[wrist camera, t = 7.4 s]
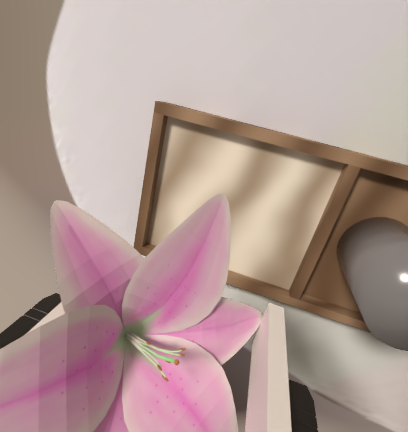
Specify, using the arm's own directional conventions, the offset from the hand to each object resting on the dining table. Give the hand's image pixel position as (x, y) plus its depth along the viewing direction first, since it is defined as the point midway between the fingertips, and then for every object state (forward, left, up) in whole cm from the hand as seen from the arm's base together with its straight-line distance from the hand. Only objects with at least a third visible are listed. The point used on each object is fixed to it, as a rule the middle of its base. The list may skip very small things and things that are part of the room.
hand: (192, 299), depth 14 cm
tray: (-6, 0, -17) cm, 17 cm away
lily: (+1, -1, 0) cm, 1 cm away
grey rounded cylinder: (-15, 0, -16) cm, 21 cm away
